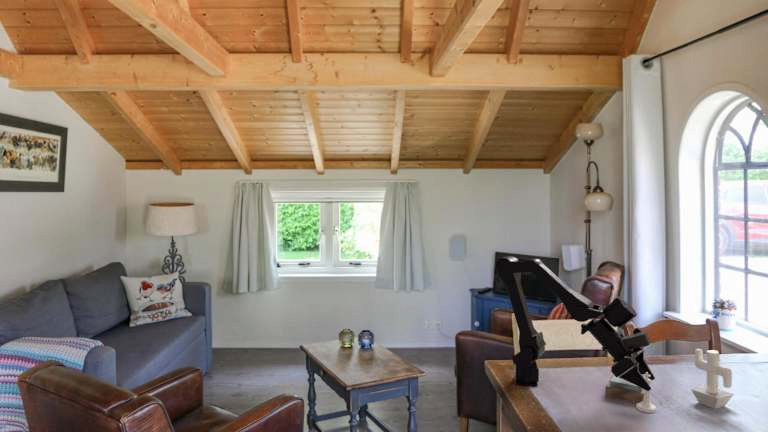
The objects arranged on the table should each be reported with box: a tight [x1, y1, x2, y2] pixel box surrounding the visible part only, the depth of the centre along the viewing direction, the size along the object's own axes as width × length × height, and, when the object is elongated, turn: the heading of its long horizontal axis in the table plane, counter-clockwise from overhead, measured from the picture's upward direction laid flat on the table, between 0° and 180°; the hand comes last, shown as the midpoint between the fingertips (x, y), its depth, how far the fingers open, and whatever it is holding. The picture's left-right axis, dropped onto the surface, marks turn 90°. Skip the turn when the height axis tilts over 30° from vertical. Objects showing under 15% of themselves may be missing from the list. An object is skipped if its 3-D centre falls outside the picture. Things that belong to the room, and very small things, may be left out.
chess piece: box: [635, 372, 658, 414], centre depth 132 cm, size 5×5×10 cm
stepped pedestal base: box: [604, 374, 645, 404], centre depth 141 cm, size 10×10×4 cm
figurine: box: [690, 348, 734, 410], centre depth 135 cm, size 7×9×15 cm
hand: (651, 384), depth 131 cm, fingers open, 9 cm apart
